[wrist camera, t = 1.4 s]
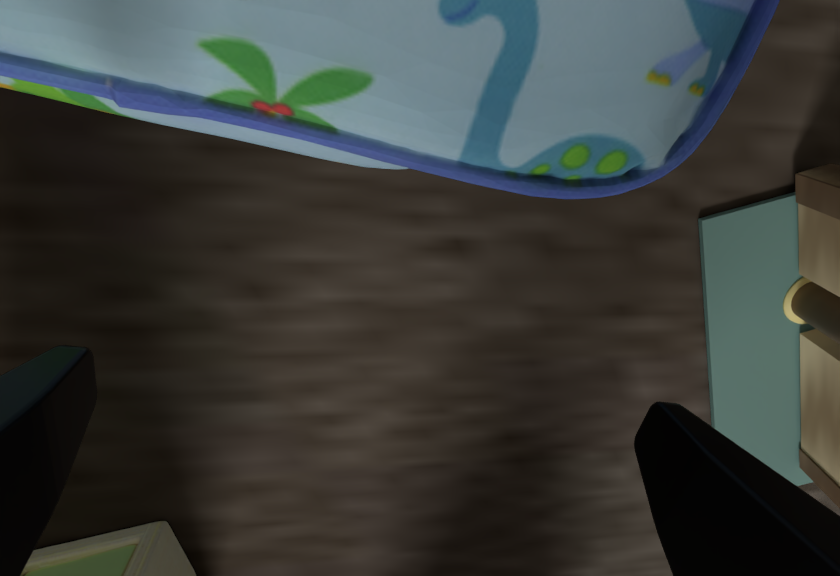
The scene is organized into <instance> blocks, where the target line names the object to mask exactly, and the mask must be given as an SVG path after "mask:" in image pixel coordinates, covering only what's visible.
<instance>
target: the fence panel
mask: <svg viewBox="0 0 840 576" xmlns="http://www.w3.org/2000/svg"><path fill="white" fill-rule="evenodd" d="M800 393H801V449H799V467H800V468H801V469H802V470H803V471H804V472H805V474H806V475H807V476H808V477H809V478H810V479H811V480H812V481H813V482H814V483H815V484H816V485H817V486H818V487H819V488H820V489H821V490H822V491H823V492H824V493H825V494H826V495H827V496H828V497H829V498H830V499H831V500H832V501H833V502H834V503H835V504H836V505H837V506H838V507H839V508H840V344H838V343H837V342H835V341H834V340H832V339H831V338H829V337H828V336H826V335H825V334H823V333H822V332H820V331H819V330H817V329H813V330H810V331H806V332H803V333H800Z"/></svg>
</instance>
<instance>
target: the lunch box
mask: <svg viewBox="0 0 840 576" xmlns="http://www.w3.org/2000/svg"><path fill="white" fill-rule="evenodd" d="M779 1H780V0H0V87H2V88H6V89H11V90H15V91H20V92H24V93H28V94H33V95H37V96H42V97H46V98H50V99H54V100H58V101H62V102H66V103H70V104H74V105H78V106H82V107H86V108H90V109H95V110H99V111H103V112H107V113H111V114H116V115H120V116H125V117H129V118H134V119H138V120H143V121H148V122H152V123H157V124H161V125H166V126H171V127H176V128H181V129H186V130H191V131H196V132H201V133H206V134H211V135H216V136H221V137H226V138H231V139H235V140H240V141H244V142H249V143H253V144H258V145H262V146H267V147H271V148H275V149H280V150H284V151H289V152H293V153H298V154H302V155H307V156H311V157H316V158H320V159H325V160H330V161H335V162H340V163H345V164H350V165H356V166H361V167H371V168H383V169H407V168H410V169H414V170H419V171H423V172H427V173H431V174H435V175H439V176H443V177H447V178H451V179H455V180H459V181H463V182H467V183H471V184H476V185H480V186H485V187H490V188H494V189H499V190H504V191H509V192H514V193H518V194H523V195H528V196H536V197H547V198H558V199H588V198H601V197H606V196H612V195H618V194H621V193H624V192H627V191H630V190H633V189H636V188H639V187H642V186H645V185H647V184H649V183H651V182H653V181H655V180H657V179H659V178H662V177H663V176H665V175H666V174H668V173H669V172H670V171H672V170H673V169H675V168H676V167H678V166H679V165H680V164H681V163H682V162H683V161H684V160H686V159H687V158H688V157H689V156H690V155H691V154H692V153H693V152H694V151H695V150H696V149H697V147H698V146H699V145H700V143H701V142H702V141H703V140H704V138H705V137H706V136H707V135H708V133H709V132H710V131H711V129H712V128H713V126H714V125H715V123H716V122H717V120H718V118H719V117H720V115H721V114H722V112H723V111H724V109H725V108H726V106H727V104H728V103H729V101H730V99H731V97H732V95H733V93H734V92H735V90H736V88H737V86H738V84H739V82H740V81H741V79H742V77H743V75H744V73H745V71H746V70H747V68H748V66H749V64H750V62H751V60H752V58H753V56H754V54H755V52H756V50H757V48H758V46H759V44H760V42H761V40H762V37H763V35H764V33H765V31H766V29H767V27H768V25H769V23H770V21H771V19H772V17H773V15H774V12H775V10H776V8H777V5H778V3H779Z"/></svg>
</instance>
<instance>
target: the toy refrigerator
mask: <svg viewBox="0 0 840 576" xmlns="http://www.w3.org/2000/svg"><path fill="white" fill-rule="evenodd" d="M20 576H196V573H195V571H194V569H193V567H192V566H191V564H190V562H189V560H188V558H187V556H186V554H185V553H184V551H183V549H182V548H181V546H180V544H179V542H178V540H177V538H176V536H175V535H174V533H173V531H172V529H171V527H170V526H169V524H168V522H166V521H158V522H153V523H148V524H144V525H140V526H136V527H132V528H127V529H123V530H118V531H114V532H110V533H106V534H102V535H97V536H93V537H89V538H85V539H81V540H76V541H72V542H68V543H63V544H59V545H55V546H50V547H46V548H41V549H37V550H33V552H32V554H31V556H30V558H29V560H28V562H27V564H26V566H25V568H24V569H23V571H22V573H21V575H20Z"/></svg>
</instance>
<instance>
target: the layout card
mask: <svg viewBox="0 0 840 576" xmlns="http://www.w3.org/2000/svg"><path fill="white" fill-rule="evenodd" d="M698 223H699V239H700V254H701V269H702V285H703V300H704V315H705V331H706V346H707V361H708V377H709V392H710V407H711V423H712V427H713V428H714V429H716V430H717V431H719V432H720V433H722V434H723V435H724V436H726V437H727V438H729V439H730V440H732V441H733V442H734V443H736V444H737V445H739V446H740V447H742V448H743V449H744V450H746V451H747V452H749V453H750V454H752V455H753V456H754V457H756V458H757V459H759V460H760V461H762V462H763V463H764V464H766V465H767V466H769V467H770V468H772V469H773V470H774V471H776V472H777V473H779V474H780V475H782V476H783V477H784V478H786V479H787V480H789V481H790V482H792V483H793V484H794V485H796V486H799V485H803V484H807V483H811V482H813V481H812V480H811V479H810V478H809V477H808V476H807V475H806V474H805V472H804V471H803V470H802V469H801V468H800V467H799V449H801V393H800V333H803V332H806V331H810V330H813V329H816V328H814V327H813V326H811V325H810V324H808V323H807V322H805V321H804V320H802V319H801V318H799V317H798V316H796V315H795V314H794V313H793V311H792V309H791V301H792V298H793V296H794V294H795V293H796V291H797V290H798V289H799V288H800V287H802V286H803V285H805V284H806V283H809V282H811V281H810V280H809V279H807V278H805V277H803V276H802V275H800V274H799V231H798V203H796V192H793V193H789V194H786V195H782V196H778V197H775V198H771V199H767V200H764V201H760V202H757V203H753V204H749V205H746V206H742V207H738V208H735V209H731V210H728V211H724V212H720V213H717V214H713V215H709V216H706V217H702V218H699V219H698Z"/></svg>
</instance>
